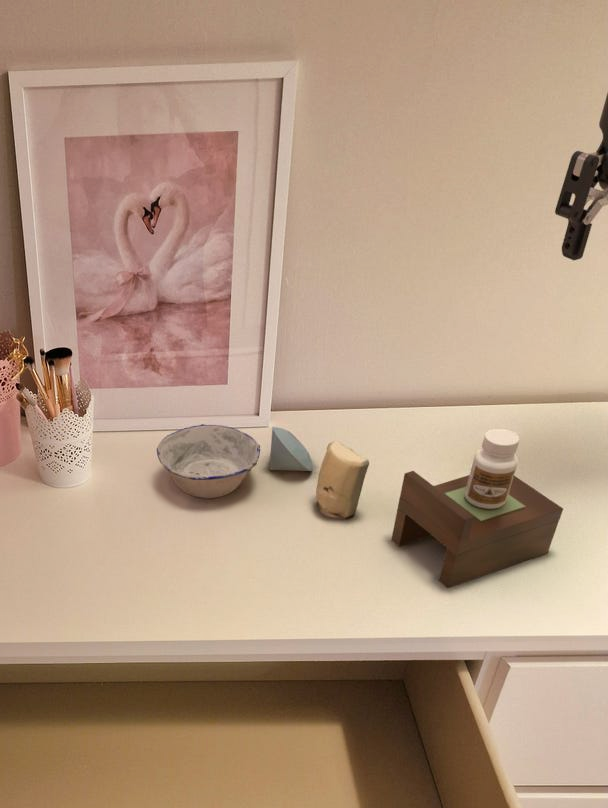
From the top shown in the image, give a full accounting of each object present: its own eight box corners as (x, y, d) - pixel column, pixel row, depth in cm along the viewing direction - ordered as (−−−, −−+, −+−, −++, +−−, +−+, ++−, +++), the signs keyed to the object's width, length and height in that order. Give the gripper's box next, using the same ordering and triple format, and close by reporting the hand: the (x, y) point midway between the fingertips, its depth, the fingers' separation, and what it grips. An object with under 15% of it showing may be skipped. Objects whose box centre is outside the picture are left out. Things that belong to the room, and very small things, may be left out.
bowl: (228, 446, 118) (230, 414, 115) (276, 493, 109) (279, 459, 106) (141, 469, 115) (140, 436, 112) (184, 519, 106) (184, 485, 103)
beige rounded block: (365, 502, 107) (374, 444, 102) (357, 525, 104) (366, 467, 98) (318, 494, 109) (326, 437, 103) (309, 517, 105) (316, 459, 100)
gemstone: (254, 463, 109) (284, 435, 107) (245, 439, 115) (274, 412, 113) (293, 500, 112) (324, 474, 110) (283, 475, 118) (311, 450, 116)
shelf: (487, 508, 105) (506, 442, 99) (547, 553, 98) (572, 484, 92) (391, 539, 101) (404, 473, 95) (447, 588, 94) (465, 519, 88)
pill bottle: (464, 508, 95) (481, 445, 89) (463, 486, 98) (479, 424, 92) (507, 512, 94) (526, 449, 88) (504, 490, 97) (523, 427, 92)
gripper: (629, 94, 79) (576, 275, 90) (745, 70, 82) (680, 247, 93) (568, 79, 84) (525, 252, 95) (679, 57, 87) (625, 226, 99)
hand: (602, 249), depth 94 cm, fingers open, 8 cm apart
